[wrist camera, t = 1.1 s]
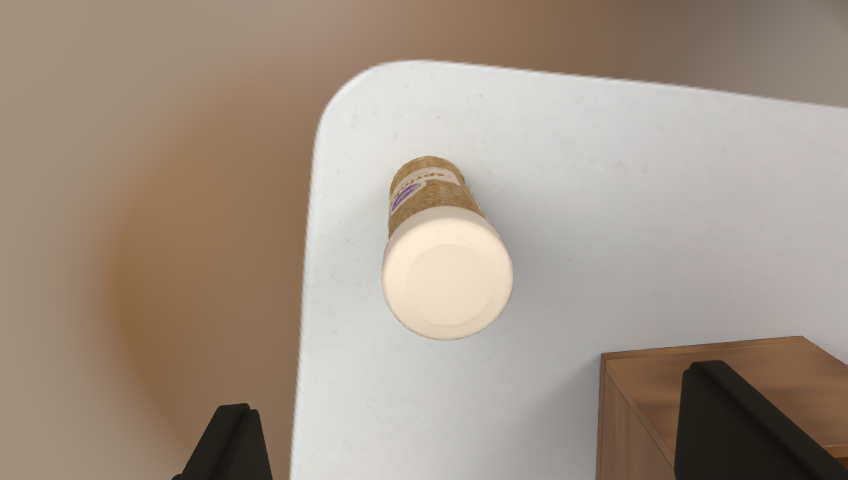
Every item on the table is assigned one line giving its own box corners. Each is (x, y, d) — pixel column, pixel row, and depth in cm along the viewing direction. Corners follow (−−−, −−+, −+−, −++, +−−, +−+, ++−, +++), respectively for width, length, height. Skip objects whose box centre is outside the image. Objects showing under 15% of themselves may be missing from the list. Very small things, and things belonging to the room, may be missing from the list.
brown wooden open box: (594, 501, 38) (658, 642, 28) (600, 353, 34) (677, 460, 24) (774, 484, 38) (896, 618, 29) (801, 335, 34) (953, 434, 25)
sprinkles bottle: (414, 140, 29) (427, 193, 16) (481, 181, 30) (543, 262, 17) (374, 207, 30) (355, 307, 17) (440, 245, 31) (468, 366, 18)
